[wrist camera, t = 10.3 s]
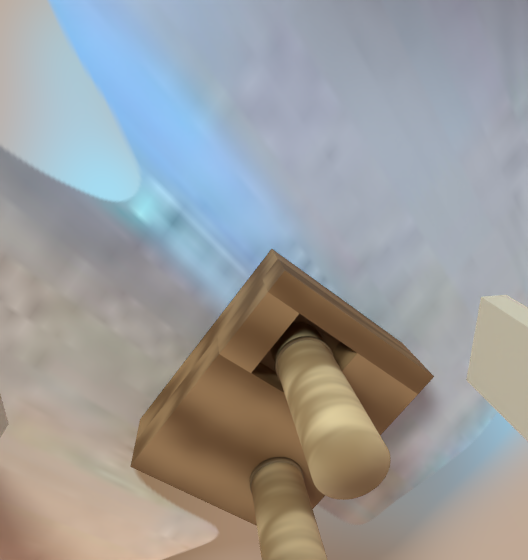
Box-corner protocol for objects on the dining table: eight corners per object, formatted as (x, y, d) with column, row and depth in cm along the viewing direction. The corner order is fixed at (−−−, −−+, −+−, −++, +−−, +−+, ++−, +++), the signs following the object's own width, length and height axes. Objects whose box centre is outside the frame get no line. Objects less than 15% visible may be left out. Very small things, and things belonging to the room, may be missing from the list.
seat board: (271, 248, 37) (327, 340, 21) (402, 343, 41) (528, 476, 26) (140, 419, 40) (101, 609, 24) (274, 487, 45) (315, 683, 29)
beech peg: (292, 311, 35) (347, 417, 22) (334, 339, 37) (408, 455, 24) (258, 353, 36) (292, 479, 23) (300, 379, 38) (354, 512, 25)
